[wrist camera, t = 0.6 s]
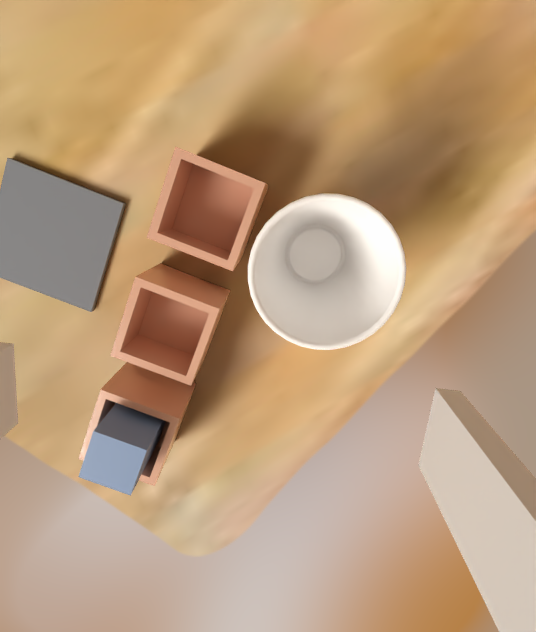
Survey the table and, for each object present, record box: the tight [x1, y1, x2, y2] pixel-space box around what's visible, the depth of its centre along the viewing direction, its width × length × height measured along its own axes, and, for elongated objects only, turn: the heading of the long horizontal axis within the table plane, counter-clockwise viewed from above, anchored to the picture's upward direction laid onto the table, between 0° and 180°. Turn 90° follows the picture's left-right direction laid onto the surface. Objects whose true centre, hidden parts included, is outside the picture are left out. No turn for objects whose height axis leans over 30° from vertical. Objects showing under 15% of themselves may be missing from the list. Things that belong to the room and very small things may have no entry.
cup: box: [248, 193, 406, 350], centre depth 34 cm, size 10×10×11 cm
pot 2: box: [110, 263, 231, 386], centre depth 37 cm, size 6×6×7 cm
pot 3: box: [79, 362, 196, 486], centre depth 40 cm, size 6×6×7 cm
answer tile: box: [0, 158, 126, 312], centre depth 39 cm, size 10×10×1 cm
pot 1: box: [147, 147, 269, 271], centre depth 35 cm, size 6×6×7 cm
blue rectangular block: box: [79, 403, 166, 495], centre depth 37 cm, size 4×4×8 cm
